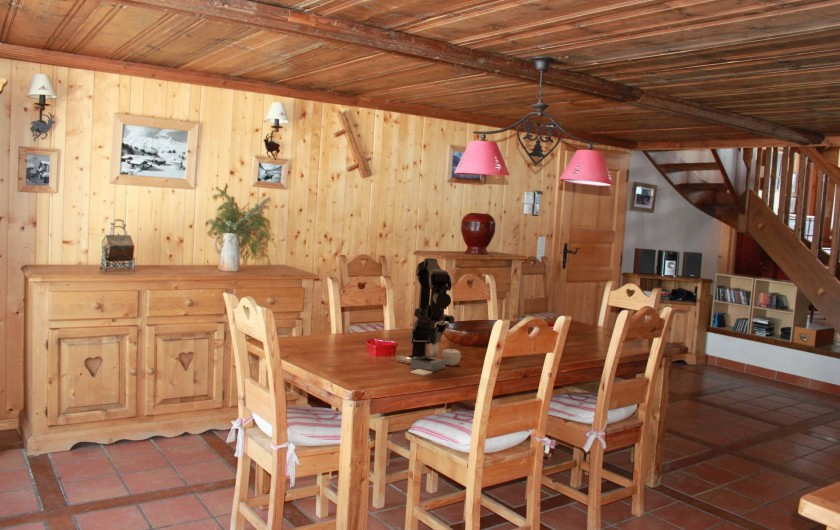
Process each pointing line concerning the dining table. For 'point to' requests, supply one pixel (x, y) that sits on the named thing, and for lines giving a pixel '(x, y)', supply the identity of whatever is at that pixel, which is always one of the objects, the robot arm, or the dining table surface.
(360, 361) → the dining table surface
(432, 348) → the dark square post
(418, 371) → the pad
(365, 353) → the dining table surface
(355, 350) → the dining table surface
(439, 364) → the block
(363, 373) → the dining table surface
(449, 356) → the apple
